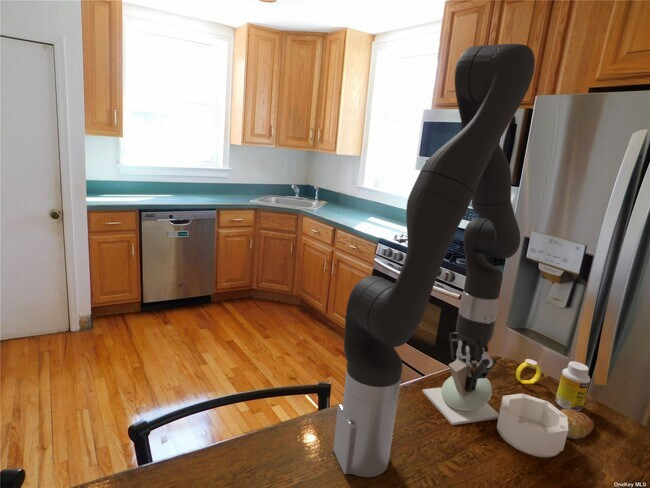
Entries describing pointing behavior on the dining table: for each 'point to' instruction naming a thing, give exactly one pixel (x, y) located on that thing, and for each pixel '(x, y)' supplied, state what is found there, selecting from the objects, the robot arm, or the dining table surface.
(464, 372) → the lid
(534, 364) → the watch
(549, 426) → the bowl
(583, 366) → the supplement bottle
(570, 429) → the pastry
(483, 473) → the dining table surface
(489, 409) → the mat
